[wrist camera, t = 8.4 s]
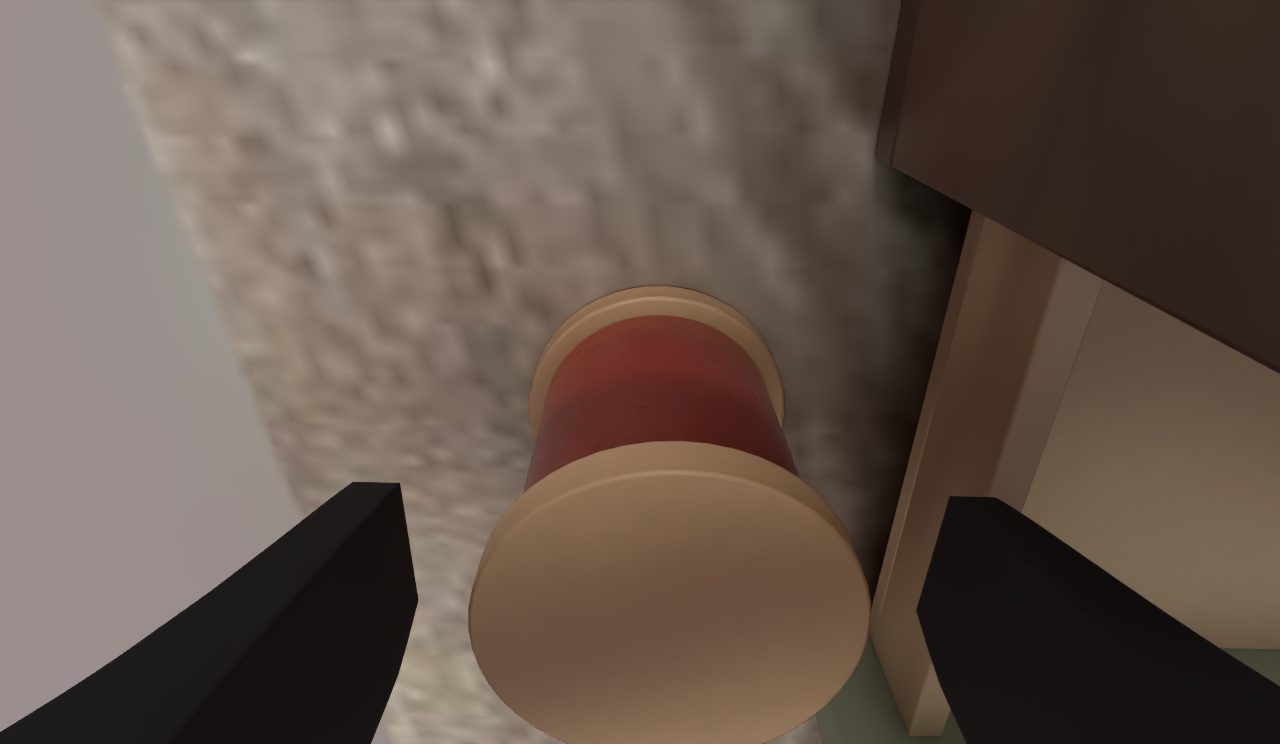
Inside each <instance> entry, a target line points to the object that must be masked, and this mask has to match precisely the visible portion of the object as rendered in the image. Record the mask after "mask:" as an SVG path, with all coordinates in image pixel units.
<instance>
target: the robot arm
mask: <svg viewBox="0 0 1280 744" xmlns="http://www.w3.org/2000/svg"><path fill="white" fill-rule="evenodd" d="M417 604H418V594H417V588H416V582H415V575H414V569H413V563H412V556H411V550H410V544H409V537H408V531H407V525H406V518H405V512H404V505H403V499H402V493H401V486H400V483H377V482H352V483H351V484H350V485H348V486H347V487H345V488H344V489H343V490H341V491H340V492H338V493H337V494H336V495H334V496H333V497H332V498H330V499H329V500H328V501H327V502H325V503H324V504H323V505H321V506H320V507H319V508H318V509H316V510H315V511H314V512H312V513H311V514H310V515H309V516H307V517H306V518H305V519H304V520H302V521H301V522H300V523H299V524H297V525H296V526H295V527H293V528H292V529H291V530H290V531H288V532H287V533H286V534H285V535H283V536H282V537H281V538H279V539H278V540H277V541H276V542H274V543H273V544H272V545H270V546H269V547H268V548H267V549H265V550H264V551H263V552H261V553H260V554H259V555H257V556H256V557H255V558H254V559H252V560H251V561H250V562H248V563H247V564H246V565H244V566H243V567H242V568H241V569H239V570H238V571H236V572H235V573H234V574H233V575H231V576H230V577H229V578H227V579H226V580H225V581H223V582H222V583H221V584H219V586H217V587H216V588H214V589H213V590H212V591H210V592H209V593H207V594H206V595H205V596H203V597H202V598H200V599H199V600H198V601H196V602H195V603H193V604H192V605H191V606H189V607H188V608H187V609H185V610H183V611H182V612H181V613H179V614H178V615H177V616H175V617H174V618H172V619H171V620H169V621H168V622H167V623H165V624H164V625H162V626H161V627H159V628H158V629H157V630H155V631H154V632H153V633H151V634H150V635H148V636H147V637H146V638H144V639H143V640H141V641H140V642H138V643H137V644H136V645H134V646H133V647H131V648H130V649H129V650H127V651H126V652H124V653H123V654H122V655H120V656H119V657H117V658H116V659H114V660H113V661H112V662H110V663H108V664H107V665H105V666H104V667H102V668H101V669H99V670H98V671H96V672H95V673H93V674H92V675H90V676H89V677H87V678H86V679H84V680H83V681H81V682H79V683H78V684H76V685H75V686H73V687H72V688H70V689H69V690H67V691H66V692H64V693H63V694H61V695H59V696H58V697H56V698H55V699H53V700H52V701H50V702H48V703H47V704H45V705H43V706H42V707H40V708H38V709H37V710H35V711H34V712H33V713H31V714H29V715H27V716H26V717H24V718H22V719H21V720H19V721H18V722H16V723H14V724H13V725H11V726H9V727H8V728H6V729H4V730H3V731H1V732H0V744H371V742H372V740H373V737H374V735H375V732H376V729H377V727H378V725H379V722H380V720H381V717H382V715H383V712H384V710H385V707H386V705H387V702H388V700H389V697H390V695H391V692H392V689H393V687H394V684H395V682H396V679H397V677H398V674H399V670H400V667H401V663H402V660H403V656H404V653H405V649H406V646H407V642H408V638H409V635H410V631H411V627H412V623H413V619H414V615H415V611H416V607H417ZM916 612H917V616H918V619H919V622H920V625H921V629H922V632H923V635H924V639H925V642H926V645H927V649H928V652H929V655H930V658H931V661H932V664H933V666H934V669H935V672H936V675H937V678H938V681H939V684H940V687H941V689H942V691H943V693H944V696H945V698H946V700H947V702H948V705H949V707H950V709H951V711H952V713H953V716H954V718H955V720H956V722H957V724H958V726H959V729H960V731H961V733H962V735H963V737H964V739H965V742H966V744H1280V686H1279V685H1277V684H1276V683H1274V682H1273V681H1271V680H1269V679H1268V678H1266V677H1265V676H1263V675H1261V674H1260V673H1258V672H1257V671H1255V670H1254V669H1252V668H1250V667H1249V666H1247V665H1246V664H1244V663H1243V662H1241V661H1239V660H1238V659H1236V658H1235V657H1233V656H1231V655H1230V654H1228V653H1227V652H1225V651H1224V650H1222V649H1220V648H1219V647H1217V646H1216V645H1214V644H1213V643H1211V642H1210V641H1208V640H1207V639H1205V638H1204V637H1202V636H1201V635H1199V634H1197V633H1196V632H1194V631H1193V630H1191V629H1190V628H1188V627H1187V626H1185V625H1184V624H1182V623H1181V622H1179V621H1178V620H1176V619H1175V618H1173V617H1172V616H1170V615H1169V614H1167V613H1166V612H1164V611H1163V610H1162V609H1160V608H1159V607H1157V606H1156V605H1154V604H1153V603H1151V602H1150V601H1148V600H1147V599H1145V598H1144V597H1142V596H1141V595H1140V594H1138V593H1137V592H1135V591H1134V590H1132V589H1131V588H1129V587H1128V586H1126V585H1125V584H1124V583H1122V582H1121V581H1119V580H1118V579H1116V578H1115V577H1113V576H1112V575H1111V574H1109V573H1108V572H1106V571H1105V570H1103V569H1102V568H1101V567H1099V566H1098V565H1096V564H1095V563H1093V562H1092V561H1090V560H1089V559H1088V558H1086V557H1085V556H1083V555H1082V554H1080V553H1079V552H1078V551H1076V550H1075V549H1073V548H1072V547H1070V546H1069V545H1068V544H1066V543H1065V542H1063V541H1062V540H1060V539H1059V538H1057V537H1056V536H1055V535H1053V534H1052V533H1050V532H1049V531H1047V530H1046V529H1044V528H1043V527H1041V526H1040V525H1039V524H1037V523H1036V522H1034V521H1033V520H1031V519H1030V518H1028V517H1027V516H1025V515H1024V514H1022V513H1021V512H1019V511H1017V510H1016V509H1014V508H1013V507H1011V506H1009V505H1008V504H1006V503H1005V502H1003V501H1001V500H1000V499H998V498H996V497H966V496H949V500H948V503H947V507H946V510H945V513H944V517H943V520H942V524H941V527H940V530H939V534H938V537H937V541H936V544H935V548H934V551H933V554H932V558H931V561H930V565H929V568H928V571H927V575H926V578H925V582H924V585H923V588H922V592H921V595H920V599H919V602H918V605H917V609H916Z"/></svg>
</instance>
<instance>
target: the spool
mask: <svg viewBox="0 0 1280 744" xmlns="http://www.w3.org/2000/svg"><path fill="white" fill-rule="evenodd" d="M784 412H785V397H784V388H783V384H782V379H781V375H780V373H779V370H778V368H777V365H776V363H775V360H774V358H773V355H772V353H771V351H770V349H769V347H768V346H767V344H766V342H765V340H764V339H763V337H762V336H761V335H760V333H759V332H758V331H757V330H756V328H755V327H754V326H753V325H752V324H751V323H750V322H749V321H748V320H747V319H746V318H745V317H744V316H743V315H741V314H740V313H739V312H737V311H736V310H734V309H733V308H732V307H730V306H729V305H727V304H725V303H723V302H721V301H719V300H717V299H716V298H714V297H711V296H708V295H706V294H703V293H700V292H697V291H693V290H688V289H684V288H679V287H669V286H645V287H638V288H632V289H626V290H623V291H619V292H616V293H612V294H610V295H607V296H605V297H602V298H600V299H598V300H595V301H594V302H592V303H590V304H589V305H587V306H585V307H583V308H582V309H580V310H579V311H578V312H576V313H575V314H574V315H573V316H571V317H570V318H569V319H568V320H567V321H566V322H565V323H564V324H563V325H562V326H561V327H560V328H559V329H558V330H557V331H556V332H555V334H554V335H553V336H552V338H551V339H550V340H549V342H548V343H547V345H546V347H545V349H544V351H543V353H542V354H541V356H540V359H539V362H538V365H537V367H536V370H535V374H534V377H533V380H532V385H531V390H530V395H529V420H530V427H531V431H532V435H533V438H534V441H535V446H534V450H533V454H532V458H531V463H530V467H529V471H528V475H527V479H526V484H525V488H524V492H523V495H522V496H521V497H520V498H518V499H517V500H516V501H515V502H514V503H513V504H512V505H511V506H510V508H509V509H508V510H507V511H506V513H505V514H504V515H503V516H502V518H501V519H500V520H499V521H498V523H497V525H496V526H495V528H494V530H493V532H492V533H491V535H490V537H489V539H488V541H487V544H486V546H485V549H484V552H483V554H482V557H481V560H480V564H479V567H478V571H477V574H476V578H475V581H474V584H473V588H472V592H471V598H470V603H469V609H468V621H469V634H470V639H471V644H472V649H473V652H474V655H475V657H476V660H477V663H478V665H479V668H480V670H481V671H482V673H483V675H484V676H485V678H486V680H487V682H488V683H489V685H490V686H491V687H492V689H493V690H494V691H495V692H496V694H497V695H498V696H499V697H500V699H501V700H502V701H503V702H504V703H505V704H506V705H507V706H508V707H510V708H511V709H512V710H513V711H514V712H515V713H516V714H517V715H519V716H520V717H521V718H523V719H524V720H525V721H527V722H528V723H529V724H531V725H532V726H534V727H535V728H537V729H539V730H541V731H542V732H544V733H546V734H547V735H549V736H551V737H553V738H555V739H558V740H560V741H562V742H564V743H567V744H763V743H766V742H768V741H771V740H773V739H775V738H777V737H779V736H781V735H783V734H785V733H787V732H789V731H791V730H792V729H794V728H795V727H797V726H799V725H800V724H802V723H803V722H805V721H807V720H808V719H809V718H811V717H812V716H813V715H815V714H816V713H817V712H818V711H820V710H821V709H822V708H823V707H825V706H826V705H827V704H828V703H829V702H830V701H831V700H832V699H833V698H834V697H835V696H836V695H837V694H838V693H839V691H840V690H841V689H842V687H843V686H844V685H845V684H846V682H847V681H848V680H849V678H850V677H851V675H852V674H853V672H854V670H855V668H856V666H857V665H858V663H859V661H860V659H861V657H862V654H863V651H864V648H865V646H866V643H867V639H868V633H869V628H870V622H871V599H870V594H869V588H868V583H867V579H866V577H865V574H864V572H863V569H862V566H861V564H860V561H859V559H858V557H857V554H856V552H855V549H854V547H853V545H852V542H851V540H850V538H849V535H848V533H847V531H846V529H845V528H844V526H843V524H842V523H841V521H840V519H839V518H838V516H837V514H836V513H835V512H834V511H833V509H832V508H831V507H830V506H829V505H828V503H827V502H826V501H825V500H824V499H823V498H822V497H821V496H820V495H819V494H818V493H817V492H816V491H814V490H813V489H812V488H811V487H810V486H809V485H808V484H806V483H805V482H804V481H802V480H801V479H800V477H799V475H798V472H797V469H796V466H795V464H794V461H793V458H792V456H791V453H790V450H789V447H788V445H787V442H786V439H785V436H784V434H783V431H782V426H783V421H784Z"/></svg>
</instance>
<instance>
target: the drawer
mask: <svg viewBox="0 0 1280 744" xmlns="http://www.w3.org/2000/svg"><path fill="white" fill-rule="evenodd" d="M949 496H966V497H996V498H998V499H1000V500H1001V501H1003V502H1005V503H1006V504H1008V505H1009V506H1011V507H1013V508H1014V509H1016V510H1017V511H1019V512H1021V513H1022V514H1024V515H1025V516H1027V517H1028V518H1030V519H1031V520H1033V521H1034V522H1036V523H1037V524H1039V525H1040V526H1041V527H1043V528H1044V529H1046V530H1047V531H1049V532H1050V533H1052V534H1053V535H1055V536H1056V537H1057V538H1059V539H1060V540H1062V541H1063V542H1065V543H1066V544H1068V545H1069V546H1070V547H1072V548H1073V549H1075V550H1076V551H1078V552H1079V553H1080V554H1082V555H1083V556H1085V557H1086V558H1088V559H1089V560H1090V561H1092V562H1093V563H1095V564H1096V565H1098V566H1099V567H1101V568H1102V569H1103V570H1105V571H1106V572H1108V573H1109V574H1111V575H1112V576H1113V577H1115V578H1116V579H1118V580H1119V581H1121V582H1122V583H1124V584H1125V585H1126V586H1128V587H1129V588H1131V589H1132V590H1134V591H1135V592H1137V593H1138V594H1140V595H1141V596H1142V597H1144V598H1145V599H1147V600H1148V601H1150V602H1151V603H1153V604H1154V605H1156V606H1157V607H1159V608H1160V609H1162V610H1163V611H1164V612H1166V613H1167V614H1169V615H1170V616H1172V617H1173V618H1175V619H1176V620H1178V621H1179V622H1181V623H1182V624H1184V625H1185V626H1187V627H1188V628H1190V629H1191V630H1193V631H1194V632H1196V633H1197V634H1199V635H1201V636H1202V637H1204V638H1205V639H1207V640H1208V641H1210V642H1211V643H1213V644H1214V645H1216V646H1217V647H1219V648H1220V649H1222V650H1224V651H1225V652H1227V653H1228V654H1230V655H1231V656H1233V657H1235V658H1236V659H1238V660H1239V661H1241V662H1243V663H1244V664H1246V665H1247V666H1249V667H1250V668H1252V669H1254V670H1255V671H1257V672H1258V673H1260V674H1261V675H1263V676H1265V677H1266V678H1268V679H1269V680H1271V681H1273V682H1274V683H1276V684H1277V685H1279V686H1280V374H1279V373H1277V372H1275V371H1273V370H1271V369H1269V368H1267V367H1266V366H1264V365H1262V364H1260V363H1258V362H1256V361H1254V360H1253V359H1251V358H1249V357H1247V356H1245V355H1243V354H1241V353H1239V352H1238V351H1236V350H1234V349H1232V348H1230V347H1228V346H1226V345H1225V344H1223V343H1221V342H1219V341H1217V340H1215V339H1213V338H1211V337H1210V336H1208V335H1206V334H1204V333H1202V332H1200V331H1198V330H1196V329H1195V328H1193V327H1191V326H1189V325H1187V324H1185V323H1183V322H1182V321H1180V320H1178V319H1176V318H1174V317H1172V316H1170V315H1168V314H1167V313H1165V312H1163V311H1161V310H1159V309H1157V308H1155V307H1154V306H1152V305H1150V304H1148V303H1146V302H1144V301H1142V300H1140V299H1139V298H1137V297H1135V296H1133V295H1131V294H1129V293H1127V292H1126V291H1124V290H1122V289H1120V288H1118V287H1116V286H1114V285H1112V284H1111V283H1109V282H1107V281H1105V280H1103V279H1101V278H1099V277H1098V276H1096V275H1094V274H1092V273H1090V272H1088V271H1086V270H1084V269H1083V268H1081V267H1079V266H1077V265H1075V264H1073V263H1071V262H1070V261H1068V260H1066V259H1064V258H1062V257H1060V256H1058V255H1056V254H1055V253H1053V252H1051V251H1049V250H1047V249H1045V248H1043V247H1041V246H1040V245H1038V244H1036V243H1034V242H1032V241H1030V240H1028V239H1027V238H1025V237H1023V236H1021V235H1019V234H1017V233H1015V232H1013V231H1012V230H1010V229H1008V228H1006V227H1004V226H1002V225H1000V224H999V223H997V222H995V221H993V220H991V219H989V218H987V217H985V216H984V215H982V214H980V213H978V212H976V211H974V210H972V213H971V217H970V221H969V225H968V229H967V233H966V237H965V241H964V245H963V249H962V253H961V257H960V261H959V265H958V268H957V272H956V276H955V280H954V284H953V288H952V292H951V296H950V300H949V304H948V308H947V312H946V316H945V320H944V324H943V328H942V332H941V336H940V340H939V344H938V348H937V351H936V355H935V359H934V363H933V367H932V371H931V375H930V379H929V383H928V387H927V391H926V395H925V399H924V403H923V407H922V411H921V415H920V419H919V423H918V427H917V431H916V434H915V438H914V442H913V446H912V450H911V454H910V458H909V462H908V466H907V470H906V474H905V478H904V482H903V486H902V490H901V494H900V498H899V502H898V506H897V510H896V514H895V517H894V521H893V525H892V529H891V533H890V537H889V541H888V545H887V549H886V553H885V557H884V561H883V565H882V569H881V573H880V577H879V581H878V585H877V589H876V593H875V597H874V600H873V604H871V622H870V628H869V633H868V639H867V643H866V646H865V648H864V651H863V654H862V657H861V659H860V661H859V663H858V665H857V666H856V668H855V670H854V672H853V674H852V675H851V677H850V678H849V680H848V681H847V682H846V684H845V685H844V686H843V687H842V689H841V690H840V691H839V693H838V694H837V695H836V696H835V697H834V698H833V699H832V700H831V701H830V702H829V703H828V704H827V705H826V706H825V707H823V708H822V709H821V710H820V711H818V712H817V713H816V717H817V721H818V724H819V728H820V732H821V736H822V740H823V743H824V744H966V742H965V739H964V737H963V735H962V733H961V731H960V729H959V726H958V724H957V722H956V720H955V718H954V716H953V713H952V711H951V709H950V707H949V705H948V702H947V700H946V698H945V696H944V693H943V691H942V689H941V687H940V684H939V681H938V678H937V675H936V672H935V669H934V666H933V664H932V661H931V658H930V655H929V652H928V649H927V645H926V642H925V639H924V635H923V632H922V629H921V625H920V622H919V619H918V616H917V612H916V609H917V605H918V602H919V599H920V595H921V592H922V588H923V585H924V582H925V578H926V575H927V571H928V568H929V565H930V561H931V558H932V554H933V551H934V548H935V544H936V541H937V537H938V534H939V530H940V527H941V524H942V520H943V517H944V513H945V510H946V507H947V503H948V500H949Z"/></svg>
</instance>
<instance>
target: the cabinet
mask: <svg viewBox="0 0 1280 744" xmlns="http://www.w3.org/2000/svg"><path fill="white" fill-rule="evenodd" d="M876 158H878V159H880V160H882V161H884V162H886V163H888V164H889V165H891V166H893V167H894V168H896V169H898V170H900V171H901V172H903V173H905V174H907V175H909V176H911V177H913V178H915V179H916V180H918V181H920V182H922V183H924V184H926V185H928V186H929V187H931V188H933V189H935V190H937V191H939V192H941V193H943V194H944V195H946V196H948V197H950V198H952V199H954V200H956V201H957V202H959V203H961V204H963V205H965V206H967V207H969V208H971V209H972V210H974V211H976V212H978V213H980V214H982V215H984V216H985V217H987V218H989V219H991V220H993V221H995V222H997V223H999V224H1000V225H1002V226H1004V227H1006V228H1008V229H1010V230H1012V231H1013V232H1015V233H1017V234H1019V235H1021V236H1023V237H1025V238H1027V239H1028V240H1030V241H1032V242H1034V243H1036V244H1038V245H1040V246H1041V247H1043V248H1045V249H1047V250H1049V251H1051V252H1053V253H1055V254H1056V255H1058V256H1060V257H1062V258H1064V259H1066V260H1068V261H1070V262H1071V263H1073V264H1075V265H1077V266H1079V267H1081V268H1083V269H1084V270H1086V271H1088V272H1090V273H1092V274H1094V275H1096V276H1098V277H1099V278H1101V279H1103V280H1105V281H1107V282H1109V283H1111V284H1112V285H1114V286H1116V287H1118V288H1120V289H1122V290H1124V291H1126V292H1127V293H1129V294H1131V295H1133V296H1135V297H1137V298H1139V299H1140V300H1142V301H1144V302H1146V303H1148V304H1150V305H1152V306H1154V307H1155V308H1157V309H1159V310H1161V311H1163V312H1165V313H1167V314H1168V315H1170V316H1172V317H1174V318H1176V319H1178V320H1180V321H1182V322H1183V323H1185V324H1187V325H1189V326H1191V327H1193V328H1195V329H1196V330H1198V331H1200V332H1202V333H1204V334H1206V335H1208V336H1210V337H1211V338H1213V339H1215V340H1217V341H1219V342H1221V343H1223V344H1225V345H1226V346H1228V347H1230V348H1232V349H1234V350H1236V351H1238V352H1239V353H1241V354H1243V355H1245V356H1247V357H1249V358H1251V359H1253V360H1254V361H1256V362H1258V363H1260V364H1262V365H1264V366H1266V367H1267V368H1269V369H1271V370H1273V371H1275V372H1277V373H1279V374H1280V0H903V6H902V11H901V17H900V22H899V28H898V33H897V39H896V44H895V50H894V55H893V61H892V66H891V72H890V77H889V83H888V88H887V94H886V99H885V105H884V110H883V116H882V121H881V127H880V132H879V138H878V143H877V149H876Z"/></svg>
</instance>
